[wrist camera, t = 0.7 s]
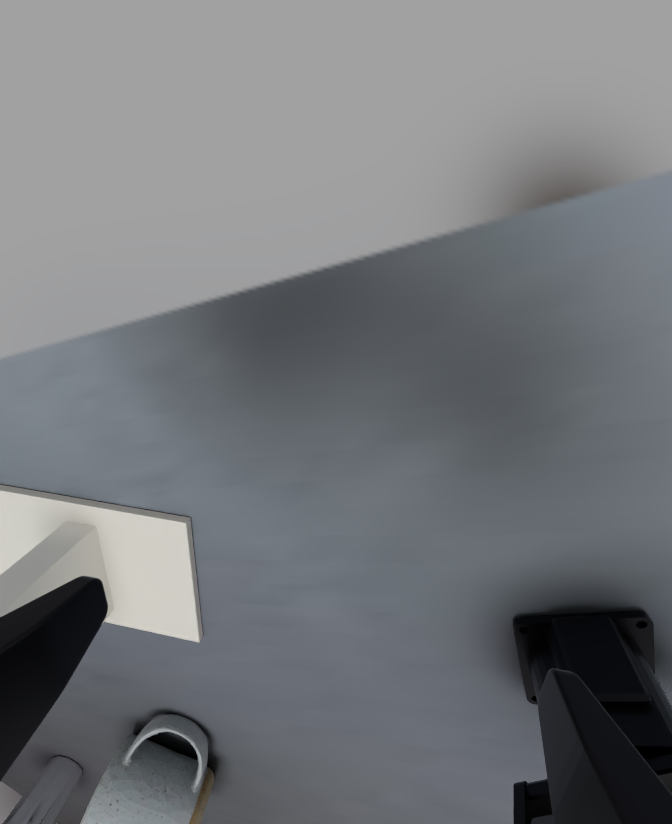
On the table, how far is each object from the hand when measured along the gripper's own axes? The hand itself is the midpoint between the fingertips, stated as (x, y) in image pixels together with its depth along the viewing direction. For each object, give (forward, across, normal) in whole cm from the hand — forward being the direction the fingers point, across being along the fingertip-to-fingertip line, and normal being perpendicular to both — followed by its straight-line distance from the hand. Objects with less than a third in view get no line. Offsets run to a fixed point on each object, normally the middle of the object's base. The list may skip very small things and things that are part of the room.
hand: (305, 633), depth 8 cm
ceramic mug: (+13, +15, +33) cm, 38 cm away
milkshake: (+13, +27, +40) cm, 50 cm away
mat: (+12, +20, +13) cm, 27 cm away
